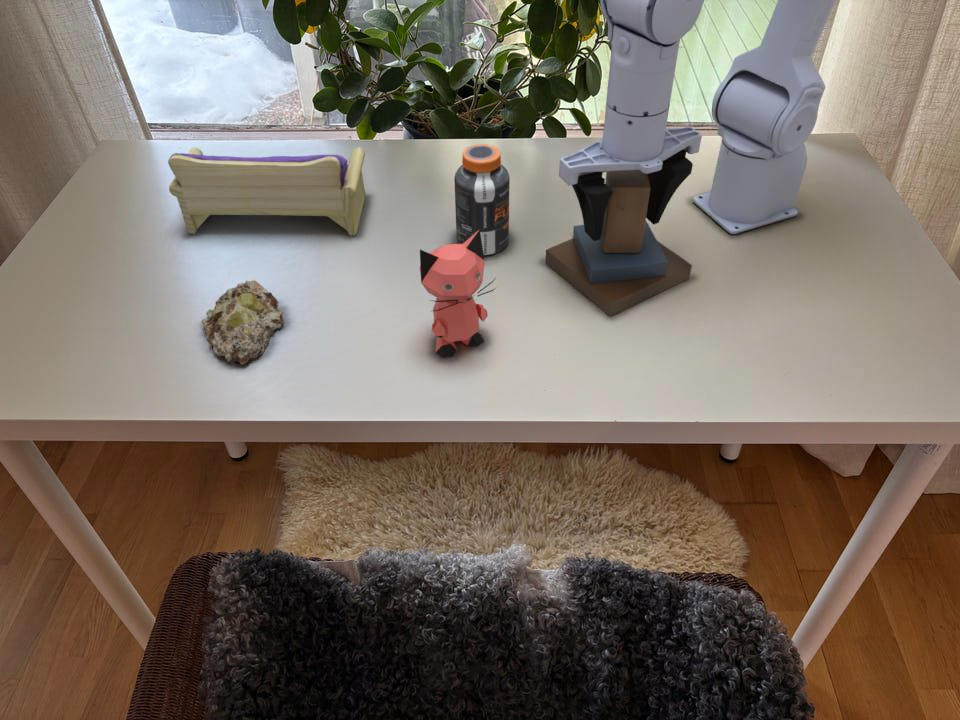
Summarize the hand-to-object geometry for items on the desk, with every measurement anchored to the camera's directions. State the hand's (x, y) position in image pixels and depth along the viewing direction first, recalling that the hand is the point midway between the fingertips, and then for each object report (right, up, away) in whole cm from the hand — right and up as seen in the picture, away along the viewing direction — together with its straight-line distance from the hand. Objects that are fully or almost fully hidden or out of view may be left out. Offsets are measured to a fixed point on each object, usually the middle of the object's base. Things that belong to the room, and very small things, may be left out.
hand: (621, 227), depth 80 cm
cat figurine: (-17, -12, -3) cm, 21 cm away
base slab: (0, -4, +4) cm, 6 cm away
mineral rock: (-38, -11, -2) cm, 40 cm away
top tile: (0, -3, +3) cm, 4 cm away
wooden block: (0, -2, +2) cm, 2 cm away
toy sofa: (-39, +3, +13) cm, 41 cm away
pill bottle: (-14, 0, +8) cm, 17 cm away
